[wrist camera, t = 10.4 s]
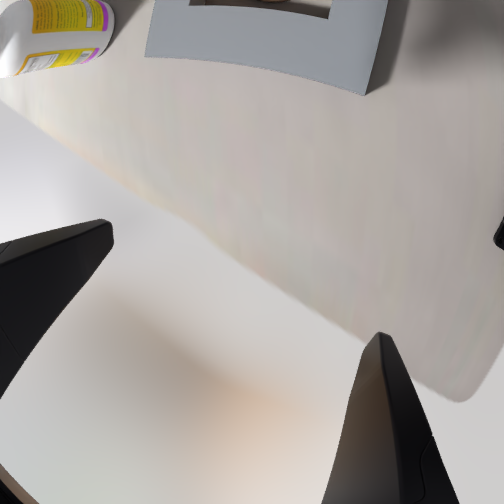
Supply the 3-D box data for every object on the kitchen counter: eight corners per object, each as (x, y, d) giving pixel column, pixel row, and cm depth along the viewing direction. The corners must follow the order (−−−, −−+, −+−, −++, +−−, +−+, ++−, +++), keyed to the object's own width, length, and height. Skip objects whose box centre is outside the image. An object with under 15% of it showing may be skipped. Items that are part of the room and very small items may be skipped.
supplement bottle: (92, -5, 15) (-24, -1, 5) (128, 10, 16) (-8, 10, 5) (67, 51, 19) (-42, 74, 9) (98, 73, 20) (-27, 102, 9)
